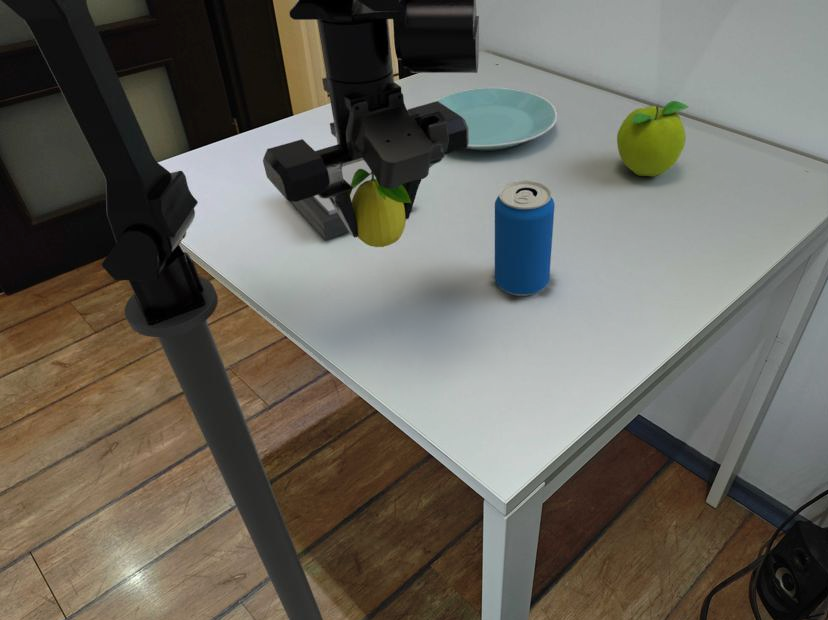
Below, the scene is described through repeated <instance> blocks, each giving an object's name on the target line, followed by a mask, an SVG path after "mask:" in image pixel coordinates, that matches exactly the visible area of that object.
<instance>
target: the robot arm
mask: <svg viewBox="0 0 828 620" xmlns="http://www.w3.org/2000/svg"><path fill="white" fill-rule="evenodd" d="M0 1H1V2H2V3H3V4H4V5H6V6H7V7H8V8H9V9H11V10H12V11H13V12H14V13H15V14H16V15H17V16H18V17H20V18H21V19H22V20H23V21H24V22H25V24H26V26H27V27H28V28H29V30H30V33H31V35H32V36H33V39H34V40H35V42H36V44H37V46H38V48H39V50H40V52H41V55H42V56H43V58H44V60H45V62H46V64H47V66H48V68H49V71H50V72H51V74H52V76H53V78H54V80H55V82H56V84H57V86H58V88H59V90H60V92H61V94H62V96H63V98H64V100H65V102H66V104H67V106H68V107H69V110H70V111H71V114H72V115H73V118H74V119H75V122H76V123H77V125H78V127H79V130H80V131H81V133H82V135H83V137H84V139H85V141H86V143H87V145H88V148H89V149H90V152H91V153H92V155H93V157H94V160H95V161H96V163H97V166H98V167H99V169H100V172H102V175H103V177H104V181H105V205H106V206H105V207H106V209H105V210H106V216H107V219H108V223H109V225H110V228H111V232H112V234H113V237H114V240H115V242H116V244H115V245H114V246H113V248H112V249H111V250H110V252H109V253H108V255H107V256H106V257H105V258H104V260H103V262H102V263H101V267H102V268H103V270H105V271H106V272H107V274H108V275H110V277H111V278H112V279H113V280H114V281H127V282H128V283H129V285H130V287H131V289H132V291H133V294H134V293H135V294H134V296H135V298H136V301H137V303H138V305H139V307H140V309H141V311H142V313H143V316H144V318H145V320H146V322H147V324H148V325H154V324H157V323H159V322H162V321H165V320H167V319H170V318H173V317H176V316H178V315H181V314H184V313H186V312H189V311H192V310H194V309H197V308H200V307H202V306H204V305H205V304H206V302H205V300H204V298H203V296H202V295H201V292H203V290H204V289H203V286H202V283H201V281H200V278H199V276H200V274H199V273H198V271H197V268H196V265H195V262H194V260H193V259H192V258H191V256H190V254H189V252H187V251H184V250H183V249H182V248H181V246H180V244H181V242H182V240H183V239H185V237H186V236H187V231H188V230H189V228H190V227H191V225H192V224H193V222H194V220H195V218H196V210H195V208H196V206H197V205H198V203H199V201H198V200H197V199H196V198H195V196H194V195H193V194H192V192H191V190H190V188H189V185H188V181H187V176H186V174H185V173H184V171H183V170H177V171H173V172H170V170H167V169H166V168H165V167H164V166H163V165H161V163H159V162H158V161H157V160H156V159H155V157H154V155H153V153H152V151H151V148H150V146H149V144H148V142H147V140H146V137H145V135H144V133H143V130H142V128H141V126H140V123H139V122H138V119H137V116H136V114H135V112H134V110H133V107H132V106H131V103H130V101H129V99H128V96H127V93H126V92H125V90H124V87H123V85H122V83H121V80H120V79H119V76H118V74H117V71H116V69H115V67H114V65H113V62H112V60H111V57H110V56H109V53H108V51H107V48H106V47H105V44H104V42H103V40H102V37H101V35H100V33H99V31H98V29H97V26H96V24H95V21H94V19H93V17H92V15H91V12H90V10H89V7H88V2H87V0H0ZM288 14H289V18H290V19H292V20H294V21H317V22H316V23H317V28H318V33H319V40H320V46H321V53H322V59H323V64H324V70H325V76H326V77H322V78H321V80H322V86H323V87H322V88H323V91H324V92H326V93H327V94H328V95H329V101H330V107H331V113H332V119H333V121H332V122H329V127H330V133H331V135H332V136H333V137H334V138H335V139H336V143H337V144H335V145H331V146H328V147H327V146H326V147H324V148H321V149H317V150H315V149H314V148H313V147H312V146H310V144H309V143H307V142H306V141H305V140H304V139H303V138H302V139H298V140H294V141H290V142H286V143H284V144H280V145H277V146H272V147H269V148H266V151H265V153H264V156H263V159H262V164H263V167H264V172H265V176H266V178H267V179H268V180H269V182H270V183H272V185H273V187H275V188H276V190H277V191H278V192H279V193H280V194H281V195H282V196H283V198H284V199H285V200H286V201H287V202H291V201H293V202H297V201H300V200H303V199H306V198H310V197H313V196H316V195H318V196H319V197H321V198H324V199H327V198H329V200H330V201H331V203H332V205H333V206H334V208H335V209H336V211H337V213H338V214H339V216H340V218H341V219H342V221H343V222H344V224H345V226H346V227H347V229H348V231H349V232H348V233H349V234H350V235H351V236H352V238H354V239H355V238H358V229H357V222H356V218H355V214H354V210H353V206H352V202H351V198H350V194H351V192H352V189H353V188H352V186H351V185H350V184H348V183H347V182H346V181H345V180H344V179H343V174H342V167H343V166H346V165H349V164H353V163H356V162H359V161H362V160H364V161H365V162H366V164H367V165H368V166H369V168H370V169H371V171H372V172H373V174H374V175H375V177H376V180H377V182H378V183H379V184H380V185H381V186H382V187H384V188H387V189H393V188H397V187H399V186H400V185H401V184H402V186H403V187H404V188H405V190H406V191H407V193H408V195H409V198H410V200H411V203H403V204H404V208H405V218H406V220H409V219H410V216H411V212H412V210H413V206H414V203H415V199H416V196H417V193H418V190H419V187H420V184H421V182H422V180H424V179H425V178H428V176H429V173H430V168H432V167H433V166H434V165H436V164H438V163H441V162H442V160H443V158H445V155H448V154H450V153H453V152H457V151H459V150H463V149H466V147H467V146H468V144H469V134H468V126H467V123H466V121H465V119H463V118H462V117H461V116H460V115H458V114H457V113H455V112H453V111H452V110H450V109H449V108H447V107H446V106H444V105H443V104H441V103H440V102H438V101H436V102H434V101H432V102H429V103H426V104H422V105H419V106H418V105H417V106H415V107H412V108H411V107H410V108H408V109H407V107H406V104H405V101H404V99H405V97H404V94H403V93H402V85H399V84H398V83H396V82H395V77H394V68H393V58H392V49H391V48H392V46H391V35H390V26H389V20H392V24H393V25H392V26H393V27H392V28H393V43H394V45H393V46H394V51H395V56H396V59H397V60H399V61H401V65H402V68H404V69H406V68H407V69H409V72H410V73H411V74H476V73H478V71H479V58H480V57H479V56H480V15H477V0H297V1H296V3H294V5H293V7H291V9H290V10H289V13H288Z"/></svg>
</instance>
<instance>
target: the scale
mask: <svg viewBox="0 0 828 620" xmlns="http://www.w3.org/2000/svg"><path fill="white" fill-rule="evenodd" d="M290 203H291V204H292V205H293V207H295V208H296V209H297V210H298V212H299V213H300V214H301V215H302V216H303V217H304V218H305V220H306V221H308V223H309V224H310V225H311V226H312V227H313V228H314V229H315V231H316V232H317V233H318V234H319V235H320V236H321V237H322V238H323V240H325V241H328V240H331V239H334V238H337V237H340V236H343V235H345V234H348V233H350V232H349V231H348V229H347V227H346V226H345V224H344V222H343V221H342V219H341V218H340V216H339V214H338V213H335V214H332V215H329V216H328V215H327V214H326V213H325V212H324V211H323V210H322V209H321V208H320V207H319V206H318V205H317V204H316V203H315V201H314V200H313V199H312V198H311V197H310V198H306V199H303V200H300V201H297V202H293V201H290Z"/></svg>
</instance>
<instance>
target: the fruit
mask: <svg viewBox="0 0 828 620" xmlns="http://www.w3.org/2000/svg"><path fill="white" fill-rule="evenodd" d="M688 108H689V105H686V104H684V103H683V102H680V101H677V100H672V101H669V102H667V103H666V104H665V105H664V107H659V105H658V104H656V105H651V106H646V107H640V108H636V109H634V110H632V111H631V112H629V114H628V115H627V116H626V117H625V118H624V120H623V122H622V123H621V125H620V126H619V129H618V131H617V137H616V143H617V150H618V154H619V156H620V159H621V160H622V162H623V164H624V165H625V166H626V167H627V168H628V169H629V170H630V171H631V172H633V174H635V175H637V176H638V177H639V176H640V177H657V176H660V175H662V174H664V173H666V172H667V171H668V170H669V169H671V168H672V167H673V166H674V165H675V164H676V162H677V161H678V160H679V158H680V156H681V155H682V152H683V150H684V148H685V145H686V130H685V127H684V124H683V122H682V119H681V117H680V115H679V114H678V112H679V111H682V110H686V109H688Z"/></svg>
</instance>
